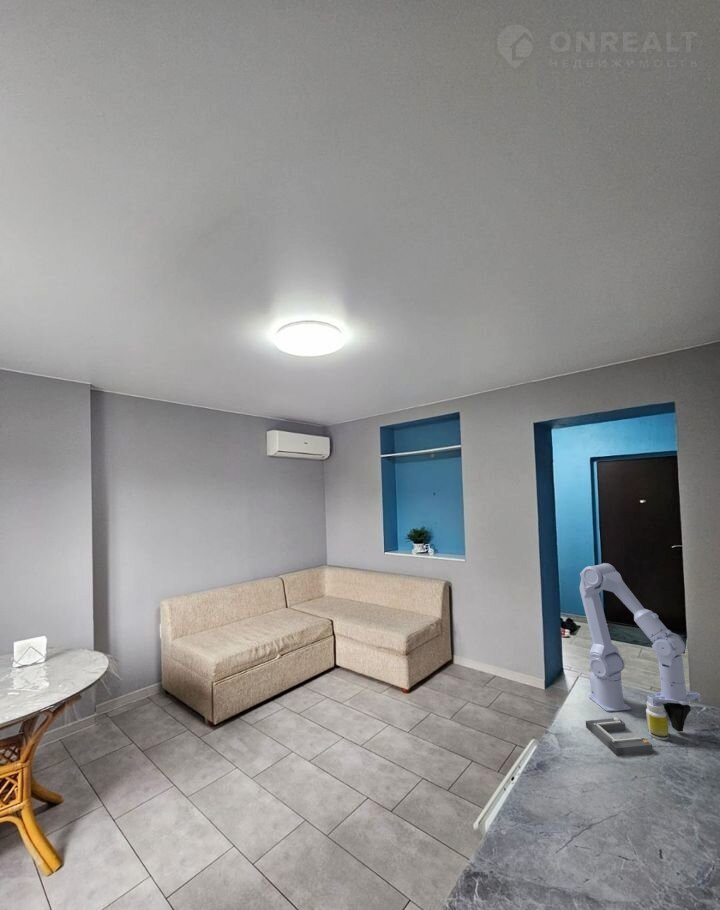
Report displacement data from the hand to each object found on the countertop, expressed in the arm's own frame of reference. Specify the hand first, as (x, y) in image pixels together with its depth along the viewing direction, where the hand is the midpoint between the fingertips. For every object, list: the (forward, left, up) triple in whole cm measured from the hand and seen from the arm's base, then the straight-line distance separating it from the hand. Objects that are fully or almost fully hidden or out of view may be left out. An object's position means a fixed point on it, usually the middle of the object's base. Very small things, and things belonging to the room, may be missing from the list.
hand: (677, 729), depth 116 cm
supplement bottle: (0, -6, -1) cm, 6 cm away
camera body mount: (0, -18, -1) cm, 18 cm away
